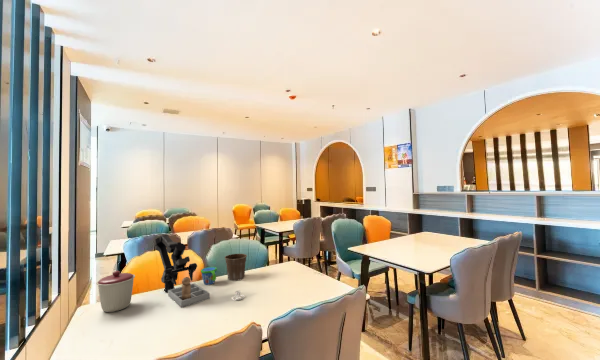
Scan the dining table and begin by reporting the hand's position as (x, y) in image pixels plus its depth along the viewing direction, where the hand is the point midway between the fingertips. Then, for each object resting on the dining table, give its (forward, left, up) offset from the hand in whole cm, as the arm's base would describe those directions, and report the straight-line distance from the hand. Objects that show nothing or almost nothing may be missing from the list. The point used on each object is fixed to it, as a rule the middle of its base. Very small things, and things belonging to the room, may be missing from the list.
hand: (184, 282), depth 155 cm
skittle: (+3, 0, -10) cm, 11 cm away
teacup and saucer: (+19, +22, -12) cm, 31 cm away
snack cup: (-18, +23, -11) cm, 32 cm away
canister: (-20, -31, -11) cm, 39 cm away
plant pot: (-14, +42, -11) cm, 46 cm away
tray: (-4, +4, -11) cm, 13 cm away
